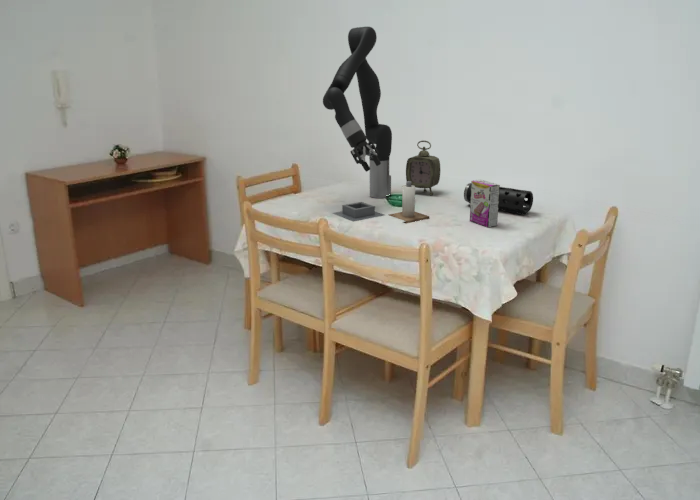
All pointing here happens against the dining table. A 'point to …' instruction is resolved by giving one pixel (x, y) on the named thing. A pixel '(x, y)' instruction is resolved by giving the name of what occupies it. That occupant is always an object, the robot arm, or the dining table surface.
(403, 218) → the walnut board
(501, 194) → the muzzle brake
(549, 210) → the dining table surface
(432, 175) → the tabletop clock
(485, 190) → the candy bar box
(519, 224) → the dining table surface
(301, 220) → the dining table surface
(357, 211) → the socket block
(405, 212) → the bottle
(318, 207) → the dining table surface
